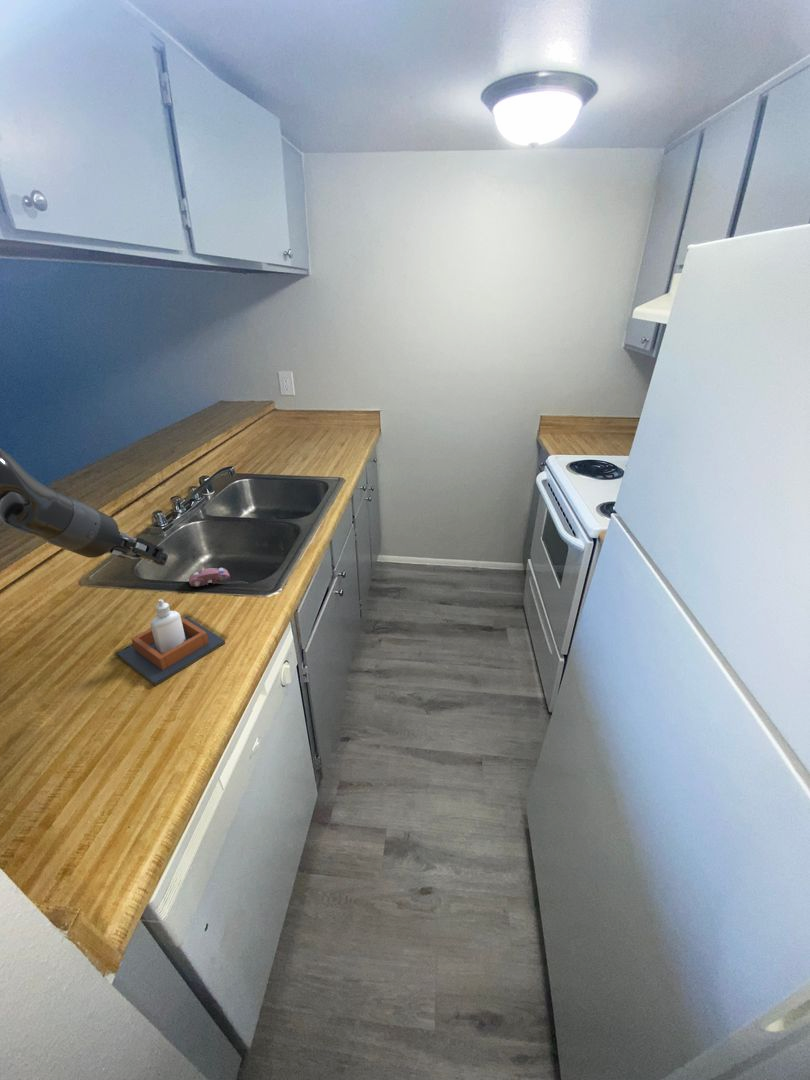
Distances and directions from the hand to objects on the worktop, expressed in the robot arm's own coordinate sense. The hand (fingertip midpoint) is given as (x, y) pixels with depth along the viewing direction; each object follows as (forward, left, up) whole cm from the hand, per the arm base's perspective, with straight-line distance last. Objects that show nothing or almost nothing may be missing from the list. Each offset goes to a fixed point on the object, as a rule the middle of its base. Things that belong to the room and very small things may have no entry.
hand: (145, 556), depth 89 cm
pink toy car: (+21, +15, -24) cm, 35 cm away
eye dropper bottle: (+1, 0, -23) cm, 23 cm away
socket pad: (+1, 0, -24) cm, 24 cm away
